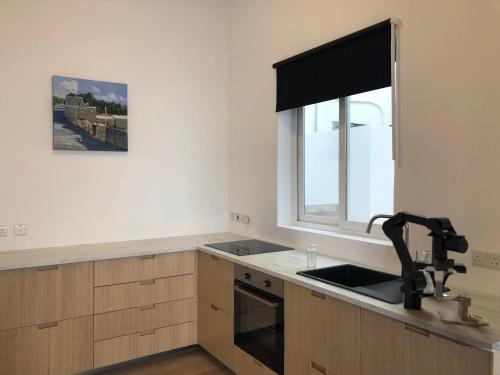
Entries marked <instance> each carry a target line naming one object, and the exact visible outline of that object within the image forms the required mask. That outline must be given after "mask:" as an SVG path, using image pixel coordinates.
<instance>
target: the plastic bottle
mask: <svg viewBox="0 0 500 375" xmlns="http://www.w3.org/2000/svg"><path fill="white" fill-rule="evenodd" d="M422 251H423V252H422V257H421V258H420V259H419V260H422V261H424V262H425V263H431V258H432V251H429V250H422ZM419 271H423V272H424V275H425V277H426V278H427V280H426V281H427V286H426V288H425V289H424V292H423V293H422V294H425V295H431V294H433V293H434V286H433V283H432V280H431V276H430V274H429V273H428V272H426V270H425V269H423V270H419Z"/></svg>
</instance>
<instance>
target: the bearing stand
mask: <svg viewBox="0 0 500 375" xmlns="http://www.w3.org/2000/svg"><path fill="white" fill-rule="evenodd" d="M458 296H461V302H459V301H457V304H458V305H457V311H448V310H439V309H438V310H437V313H438V315H439V318H440V320H441V322H442V323H444V324H446V323H447V324H454V325H463V326H471V325H472V327H473V326H474V327H481V322H478V321H475V320H472V319H470V317H469V316H468V312H469V308H471V307H472V297H471V295H470V294H469V293H468V291H463V290H460V291H459V290H458Z"/></svg>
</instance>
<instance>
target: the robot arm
mask: <svg viewBox="0 0 500 375" xmlns="http://www.w3.org/2000/svg"><path fill="white" fill-rule="evenodd" d="M407 223H411V224H415V225H419V226H421V227H422V226H423V227H424V228H426V229H427V230H429V231H430V232H429V233H427V234H426V236H427V237H431V252H432V253H431V255H432V256H431V263H425V262H424V261H422V260H420V259H419V260H418V259H414V260H413V258H412V255H411V253H410V251H409V249H408V247H407V246H408V245H407V244H406V241H405V239H404V229H403V228H404V227H406V225H407ZM381 230H382V232H383V233H384V235H385V237H386V238H388V240H390V241H391V243H392V245H393V248H394V250H395V252H396V254H397V257H398V259H399V262H400V265H401V267H402V269H403V271H404V273H403V274H404V275H403V281H404V283H403V284H402V285H401V286H399V291H400V293H402V294H403V303H402V306H403V309H407V310H408V309H409V310H417V311H420V310H421V308H422V296H421V294H424V293H423V292H424V289H425V288H426V286H427V281H426V280H427V278H426V277H425V275H424V272H423V271H420V270H423V269H425V270H426V272H428V273H429V274H430V276H431V280H432V283H433V286H434V288H435V279H436V278H435V272H442V278H441V280H442V282H443V286H442V290H443V289H444V287H445V285H446V283H447V280H448V278H449V277H450V276H453V275H454V271H455V272H456V273H457V274H467V269H468V268H467V267H466V265H465V264H464V263H461V262H460V263H459V262H455V258H448V252H454V253H458V254H462V255H463V254H466V253H467V252H468V250H469V243H468V242H469V241H468V240H467V239H466V235H464V234H458V233H457V231H456V230H455V228H454V226H453V225H452V222H451V220H450V218H449V217H446V216H427V215H422V214H417V213H414V212H409V211H407V210H404V211H398V212H397V213H395V215H393V216H391V217H390V218H387V220H384V221H383V223H382V225H381Z"/></svg>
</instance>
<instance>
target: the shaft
mask: <svg viewBox="0 0 500 375" xmlns="http://www.w3.org/2000/svg"><path fill="white" fill-rule="evenodd" d="M442 286H443V282H442V279H436V278H435V288H434V291H433V293H434V294H433V295H434V298H436V299H437V300H439V301H441V300H442V301H450V302H452V301H453V302H458V301H459V302H461V296H459V295H448V294H443V289H442Z"/></svg>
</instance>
